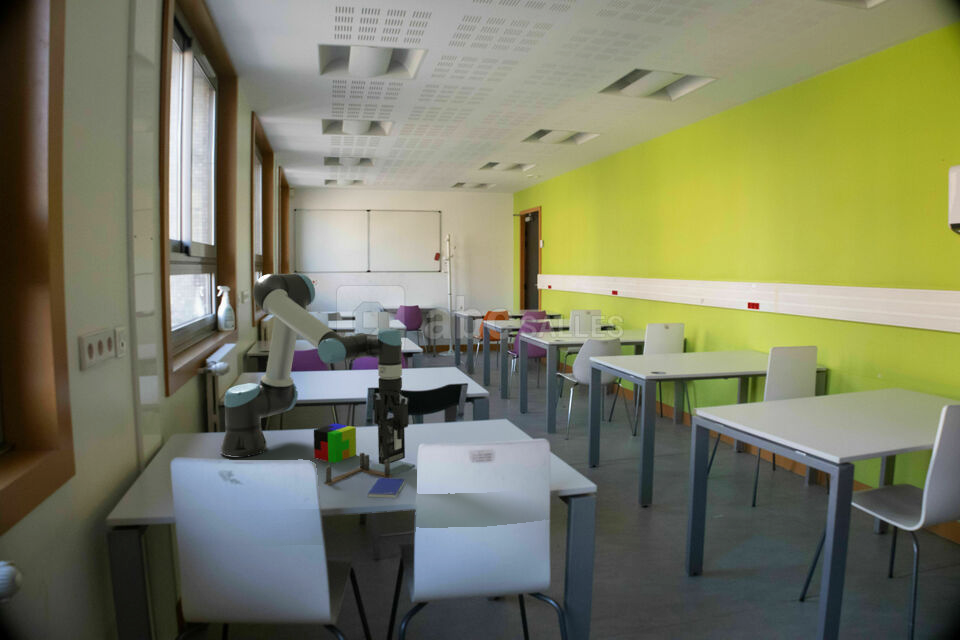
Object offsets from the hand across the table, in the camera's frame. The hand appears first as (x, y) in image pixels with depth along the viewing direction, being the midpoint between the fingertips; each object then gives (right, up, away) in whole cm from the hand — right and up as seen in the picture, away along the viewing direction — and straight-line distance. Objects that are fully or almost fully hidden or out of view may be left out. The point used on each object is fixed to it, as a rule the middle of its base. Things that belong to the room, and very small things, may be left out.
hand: (391, 447), depth 189 cm
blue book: (+1, -9, -17) cm, 20 cm away
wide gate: (-13, -8, -7) cm, 17 cm away
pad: (0, -7, +1) cm, 7 cm away
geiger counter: (0, -4, 0) cm, 4 cm away
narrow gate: (-4, -8, -5) cm, 10 cm away
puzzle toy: (-21, -6, +12) cm, 25 cm away
